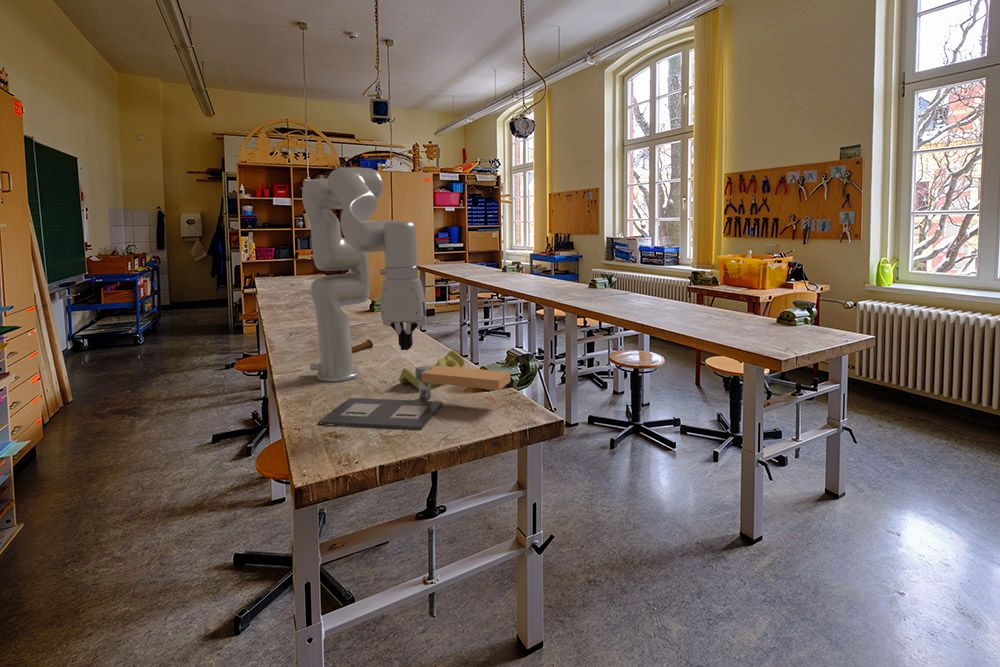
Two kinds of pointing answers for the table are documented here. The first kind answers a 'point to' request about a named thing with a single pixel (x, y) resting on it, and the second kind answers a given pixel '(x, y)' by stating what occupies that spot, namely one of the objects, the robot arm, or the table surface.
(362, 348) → the primitive tool
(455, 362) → the plastic component
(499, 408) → the table surface
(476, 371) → the orange rectangular block
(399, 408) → the label plate
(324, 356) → the robot arm
